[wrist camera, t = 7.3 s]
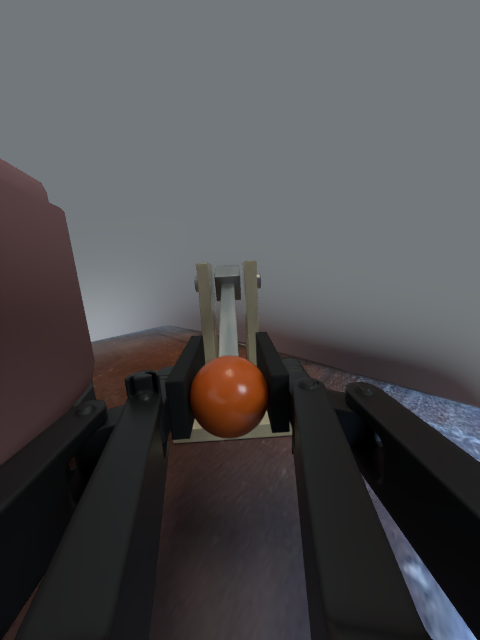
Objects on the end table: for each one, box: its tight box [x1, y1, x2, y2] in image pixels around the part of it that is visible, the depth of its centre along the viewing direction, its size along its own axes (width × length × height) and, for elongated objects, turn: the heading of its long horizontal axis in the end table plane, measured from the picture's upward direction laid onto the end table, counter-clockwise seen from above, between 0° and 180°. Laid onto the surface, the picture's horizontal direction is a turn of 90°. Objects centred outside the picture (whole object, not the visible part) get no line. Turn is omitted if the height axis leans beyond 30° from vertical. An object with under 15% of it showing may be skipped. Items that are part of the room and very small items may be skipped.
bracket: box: [173, 261, 292, 443], centre depth 23 cm, size 12×10×14 cm
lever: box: [190, 265, 269, 439], centre depth 16 cm, size 16×4×4 cm, turn 2°
